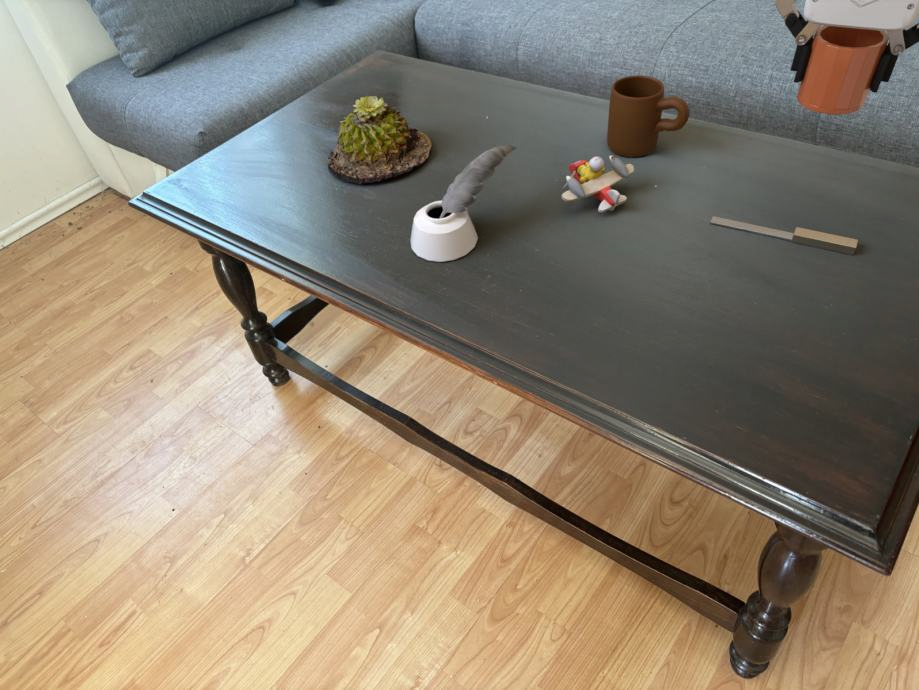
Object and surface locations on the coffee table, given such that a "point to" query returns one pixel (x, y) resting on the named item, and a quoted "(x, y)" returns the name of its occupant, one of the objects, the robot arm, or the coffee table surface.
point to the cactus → (376, 144)
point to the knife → (795, 236)
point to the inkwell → (454, 212)
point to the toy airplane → (597, 182)
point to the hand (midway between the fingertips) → (836, 80)
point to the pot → (841, 69)
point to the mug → (640, 115)
